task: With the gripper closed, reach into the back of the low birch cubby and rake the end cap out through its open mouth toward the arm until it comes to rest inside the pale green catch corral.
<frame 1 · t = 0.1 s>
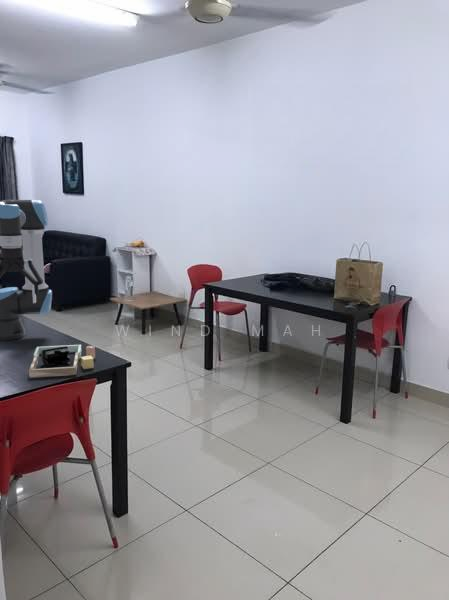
hand: (15, 302, 180), 28 cm above the table, fingers open, 13 cm apart
end cap: (56, 364, 195), on the table
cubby: (55, 367, 191), on the table
catch corral: (58, 356, 204), on the table
pinkish brown cylinder: (90, 358, 203), on the table
mustard block: (87, 366, 193), on the table
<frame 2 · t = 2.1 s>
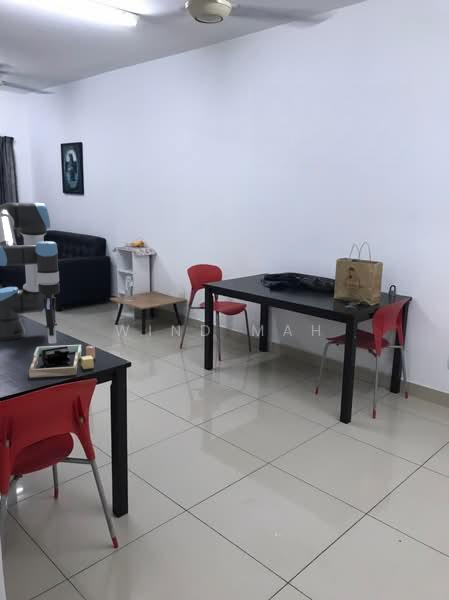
hand: (52, 342, 184), 12 cm above the table, fingers closed
nothing on the table moved.
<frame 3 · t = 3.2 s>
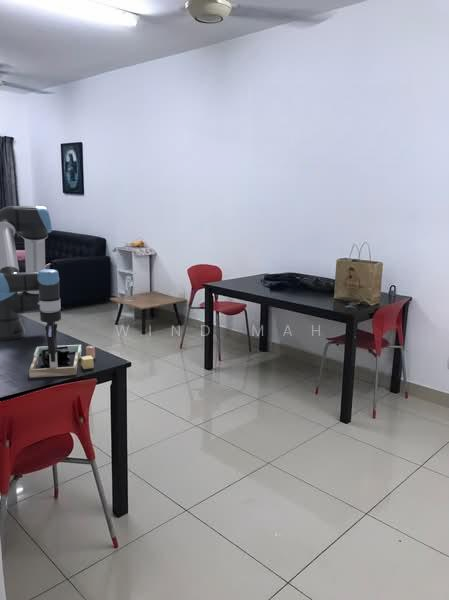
hand: (53, 368, 186), 2 cm above the table, fingers closed
nothing on the table moved.
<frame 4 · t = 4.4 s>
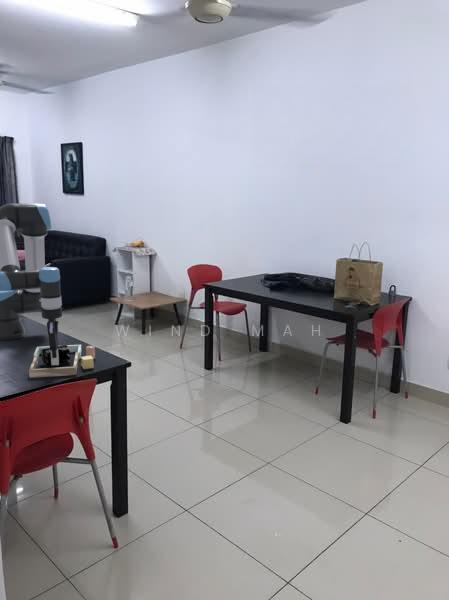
hand: (55, 364, 190), 2 cm above the table, fingers closed
end cap: (56, 363, 196), on the table, touching gripper
everything else where it was.
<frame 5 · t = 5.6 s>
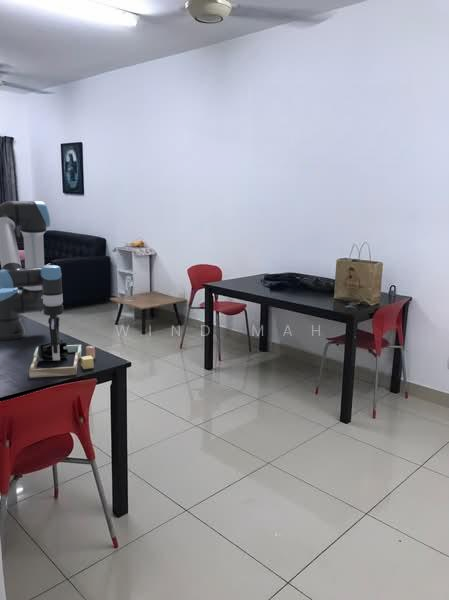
hand: (56, 359, 196), 2 cm above the table, fingers closed
end cap: (54, 358, 200), on the table, touching gripper
everything else where it was.
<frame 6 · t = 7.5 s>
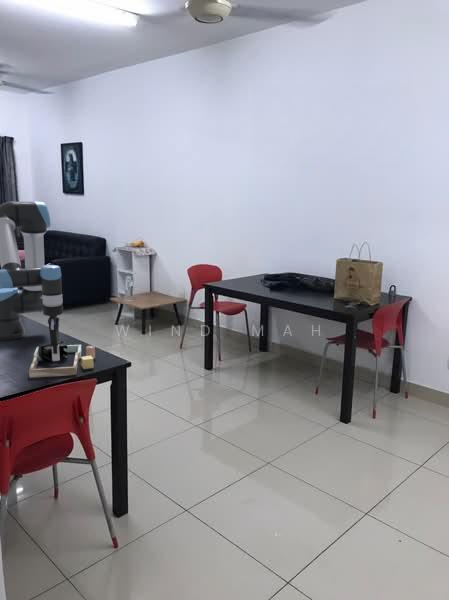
hand: (56, 360, 194), 2 cm above the table, fingers closed
end cap: (53, 359, 201), on the table
everything else where it was.
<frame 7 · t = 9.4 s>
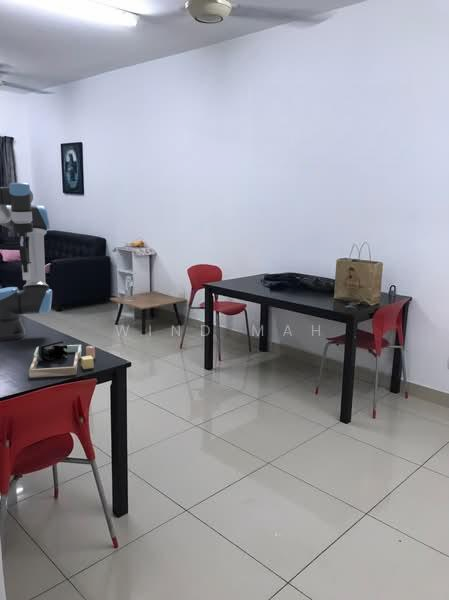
hand: (26, 279, 197), 33 cm above the table, fingers closed
nothing on the table moved.
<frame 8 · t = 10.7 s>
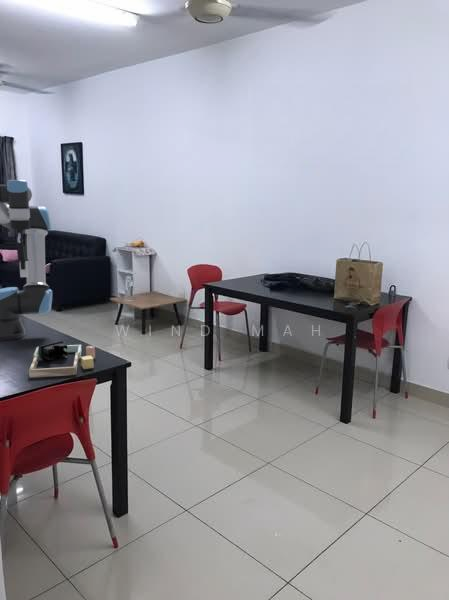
hand: (24, 276, 196), 34 cm above the table, fingers closed
nothing on the table moved.
at the end: end cap inside the target area (2.1 cm from its centre), on the table; end cap moved 6.7 cm from its start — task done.
